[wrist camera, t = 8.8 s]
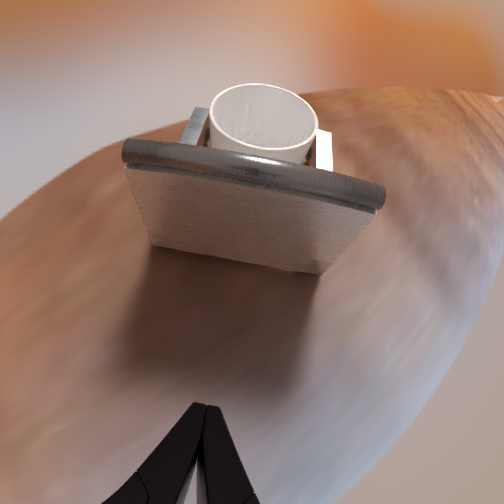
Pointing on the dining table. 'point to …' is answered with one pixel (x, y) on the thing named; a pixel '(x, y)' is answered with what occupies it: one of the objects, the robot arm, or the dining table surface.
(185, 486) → the robot arm
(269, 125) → the white cup
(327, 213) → the silver boxy shape
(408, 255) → the dining table surface
